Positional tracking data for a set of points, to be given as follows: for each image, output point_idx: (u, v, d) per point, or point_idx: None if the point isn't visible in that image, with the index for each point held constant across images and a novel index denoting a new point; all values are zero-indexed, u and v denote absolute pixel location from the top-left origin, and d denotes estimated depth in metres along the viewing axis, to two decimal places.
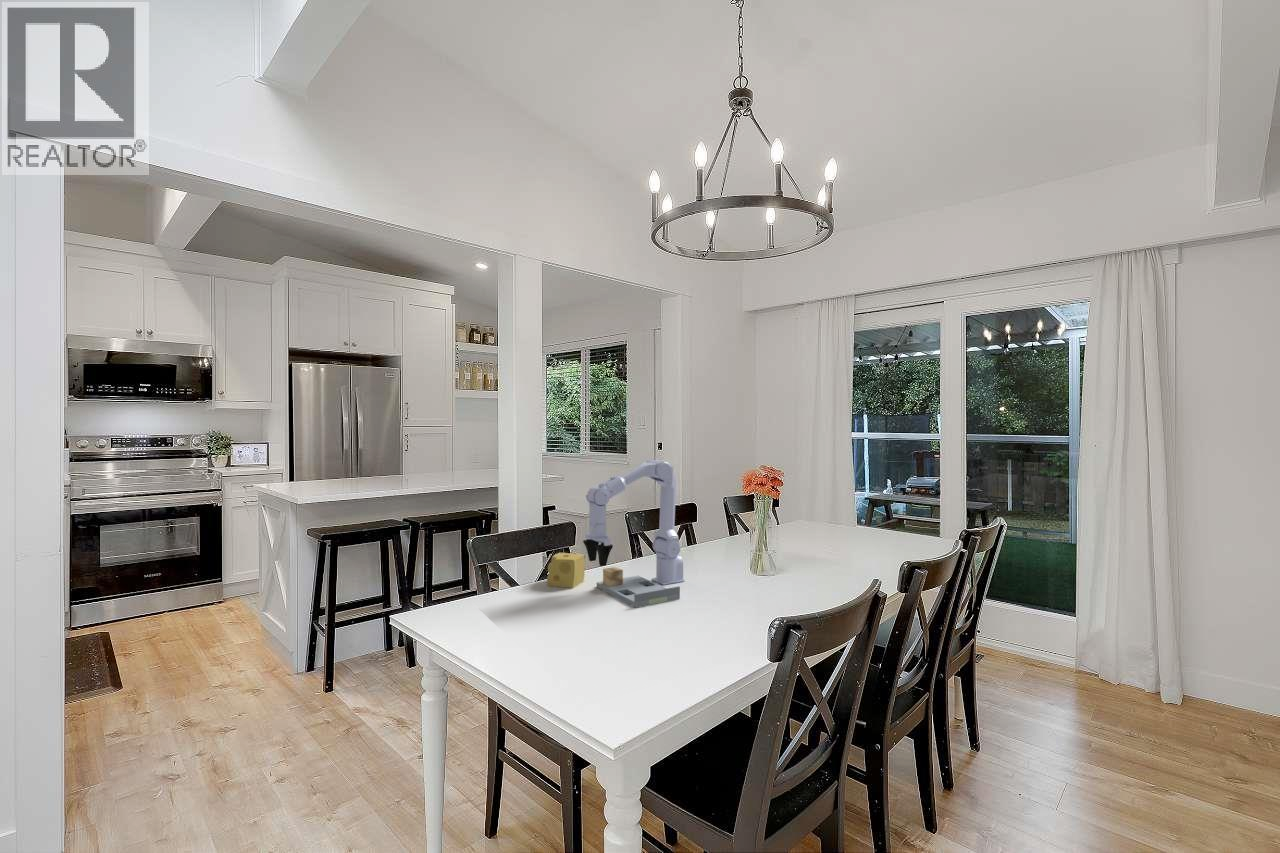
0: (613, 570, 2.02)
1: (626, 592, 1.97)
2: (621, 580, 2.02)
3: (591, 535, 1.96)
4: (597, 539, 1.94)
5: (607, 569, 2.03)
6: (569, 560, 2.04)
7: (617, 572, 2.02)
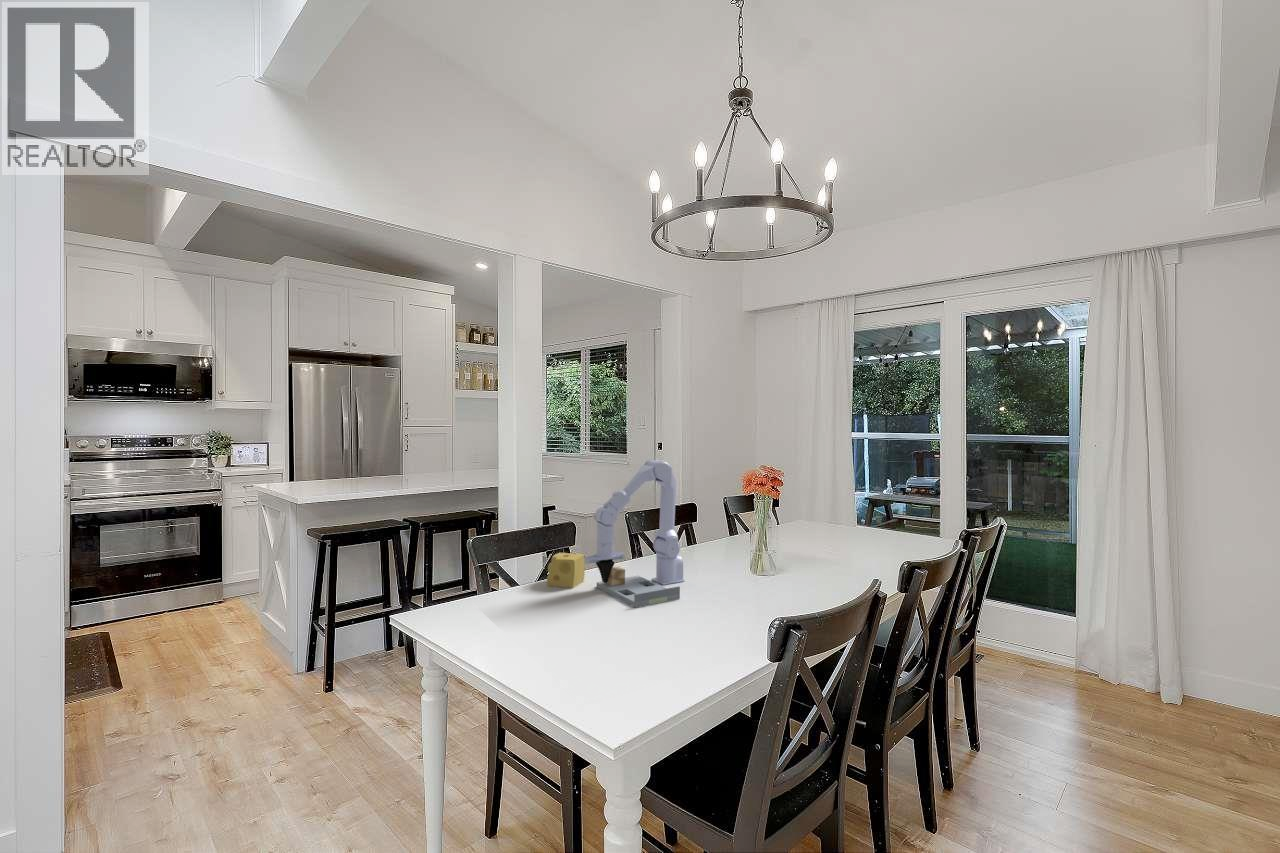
0: (616, 569, 2.03)
1: (626, 592, 1.97)
2: (623, 580, 2.03)
3: None
4: None
5: None
6: (569, 560, 2.04)
7: (619, 571, 2.02)
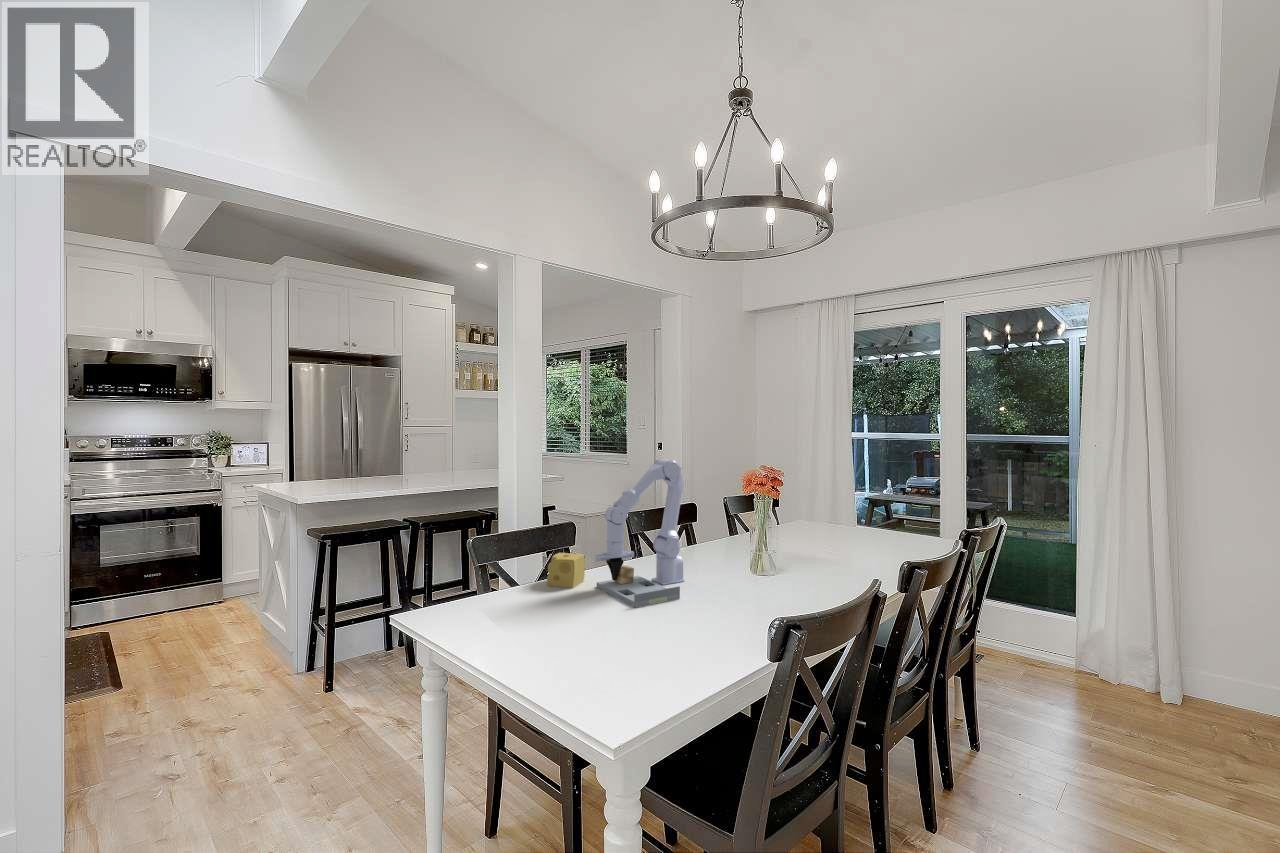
0: (625, 568, 2.05)
1: (626, 592, 1.97)
2: (632, 578, 2.05)
3: None
4: None
5: None
6: (569, 560, 2.04)
7: (628, 570, 2.04)
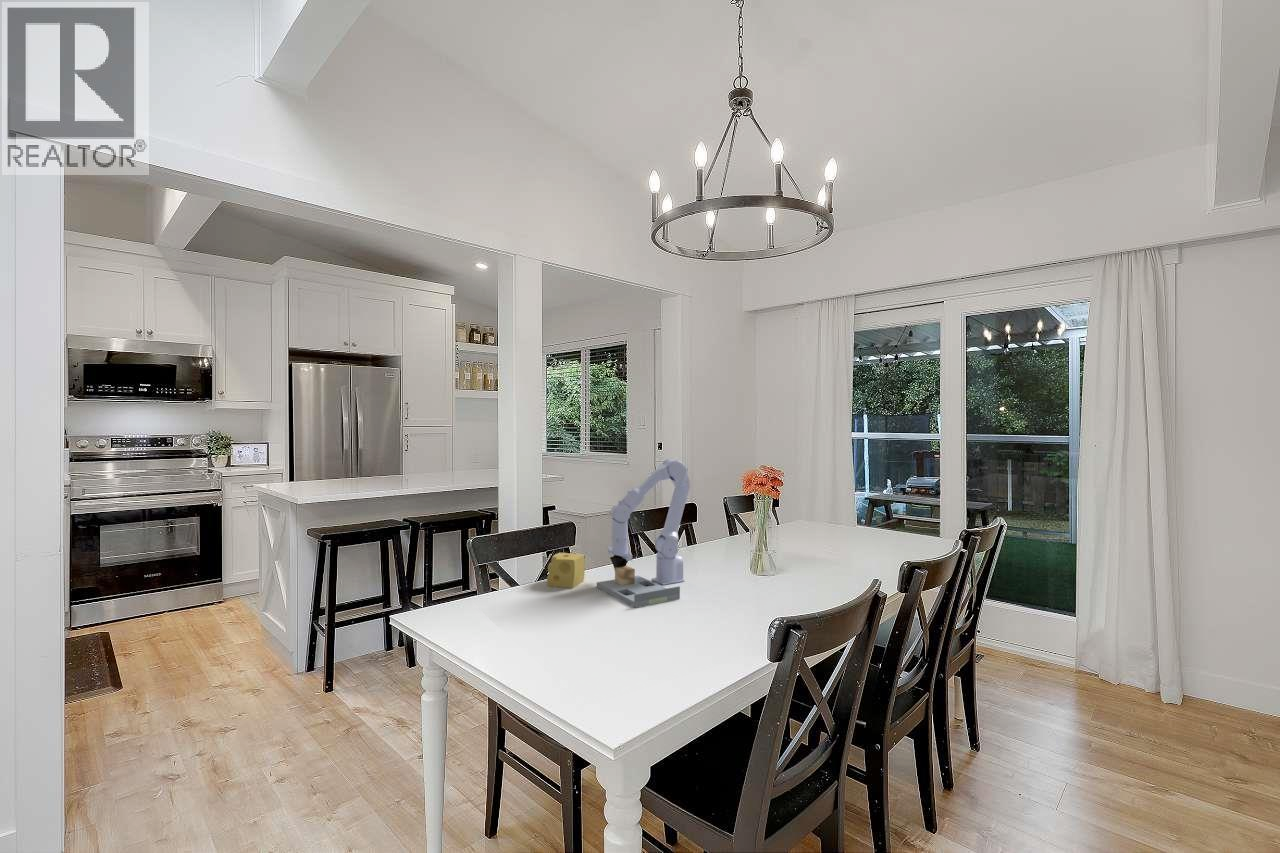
0: (625, 569, 2.04)
1: (626, 592, 1.97)
2: (633, 579, 2.04)
3: (613, 550, 2.06)
4: (619, 554, 2.04)
5: (619, 568, 2.05)
6: (569, 560, 2.04)
7: (629, 571, 2.03)
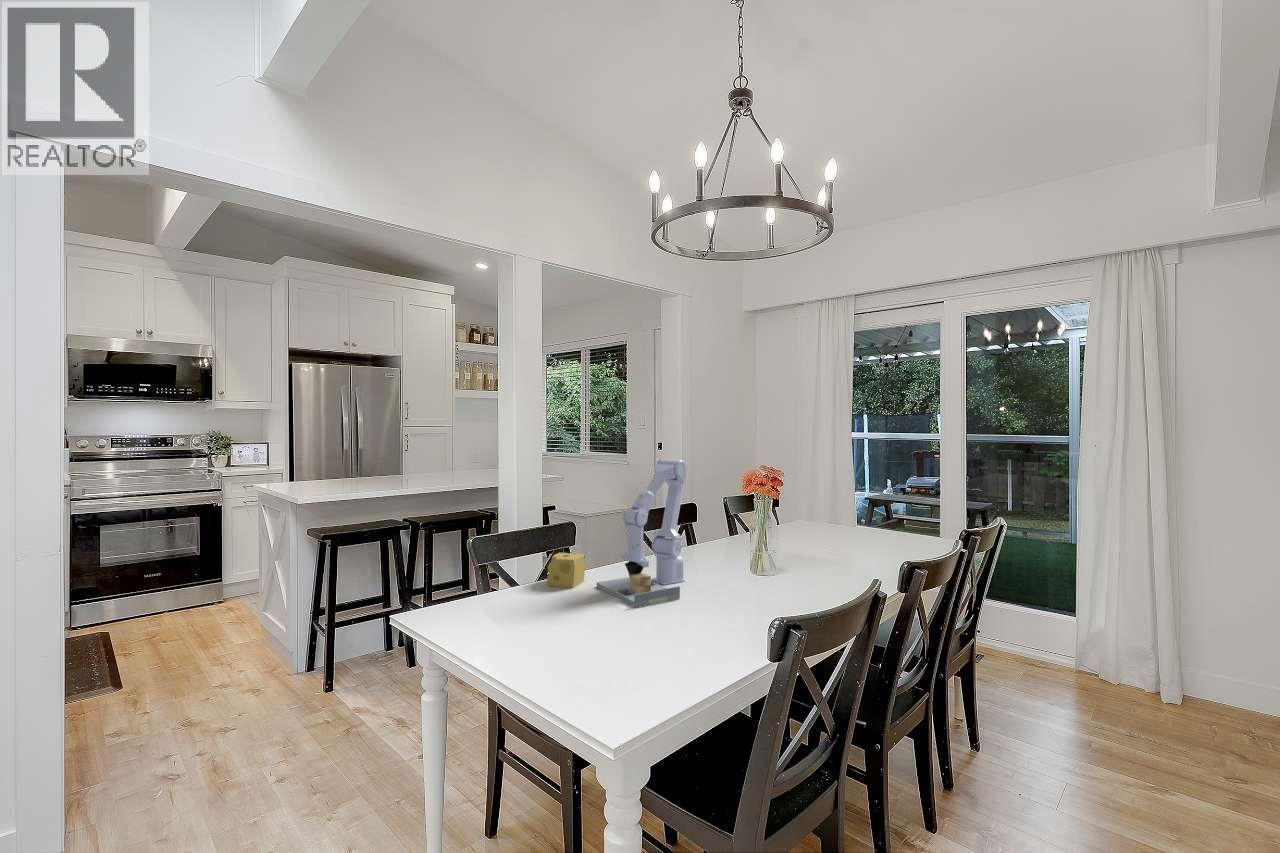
0: (641, 576, 1.95)
1: (626, 592, 1.97)
2: (649, 586, 1.95)
3: (629, 556, 1.98)
4: (635, 561, 1.96)
5: (634, 575, 1.96)
6: (569, 560, 2.04)
7: (645, 578, 1.94)
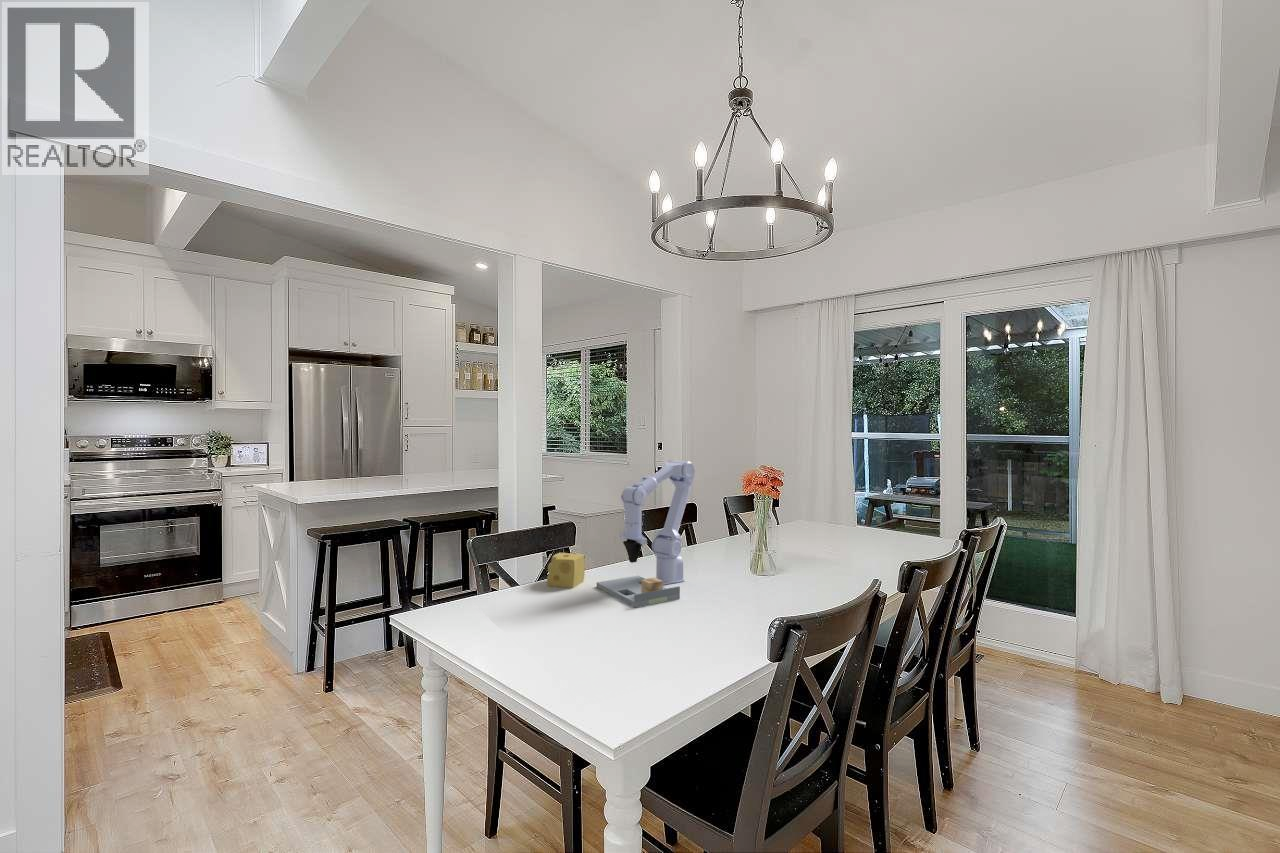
0: (653, 581, 1.89)
1: (626, 592, 1.97)
2: None
3: (627, 534, 1.99)
4: (633, 538, 1.97)
5: (646, 580, 1.90)
6: (569, 560, 2.04)
7: (657, 583, 1.88)
